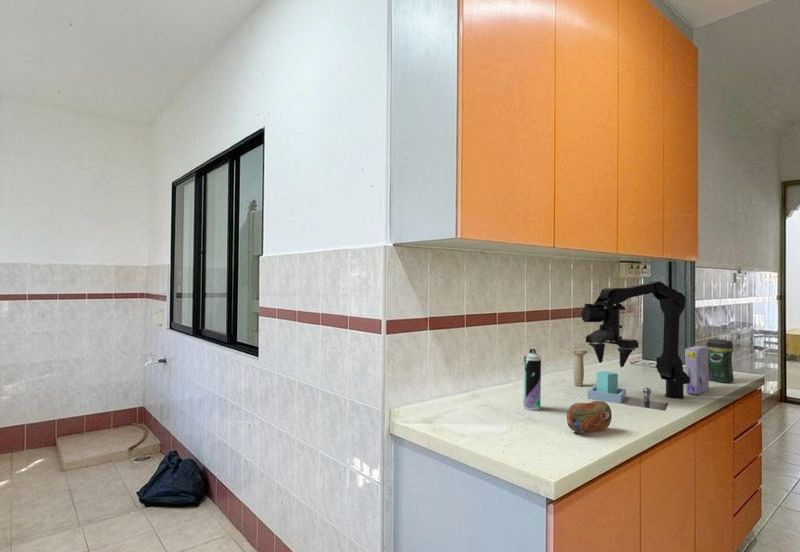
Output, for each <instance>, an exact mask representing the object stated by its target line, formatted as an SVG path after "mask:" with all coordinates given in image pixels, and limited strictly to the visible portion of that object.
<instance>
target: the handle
mask: <svg viewBox="0 0 800 552" xmlns="http://www.w3.org/2000/svg"><path fill="white" fill-rule="evenodd" d="M570 353H572V354H573V355H574V360H573V362H574V363H573V381H574V382H573V383H574V386H575V387H583V386H584V380H585V379H584V377H585V369H584V368H585V367H584V356H585V355H586V354H588V350H587V349H583V348H573V347H572V348H571V349H570Z"/></svg>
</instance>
